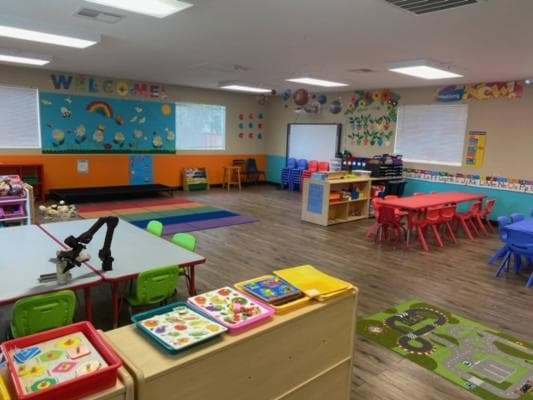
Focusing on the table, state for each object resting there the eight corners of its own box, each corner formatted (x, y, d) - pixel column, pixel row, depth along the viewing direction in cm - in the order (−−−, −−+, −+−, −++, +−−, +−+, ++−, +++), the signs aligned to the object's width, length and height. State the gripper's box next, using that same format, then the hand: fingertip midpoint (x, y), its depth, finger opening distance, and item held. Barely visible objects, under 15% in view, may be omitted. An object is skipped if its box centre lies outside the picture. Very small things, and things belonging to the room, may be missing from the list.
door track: (69, 273, 275) (69, 269, 274) (72, 277, 267) (71, 274, 266) (39, 277, 264) (39, 274, 264) (41, 282, 256) (41, 279, 256)
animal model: (73, 234, 310) (54, 240, 297) (93, 252, 301) (74, 258, 287) (71, 248, 315) (52, 254, 302) (91, 265, 306) (72, 272, 293)
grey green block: (65, 279, 258) (64, 261, 256) (69, 280, 257) (68, 262, 254) (57, 282, 253) (56, 263, 251) (61, 283, 251) (60, 265, 249)
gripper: (58, 242, 258) (42, 263, 251) (76, 248, 250) (61, 269, 242) (69, 251, 267) (55, 271, 259) (87, 256, 258) (73, 277, 250)
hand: (60, 272), depth 253 cm, fingers closed on grey green block, 4 cm apart
